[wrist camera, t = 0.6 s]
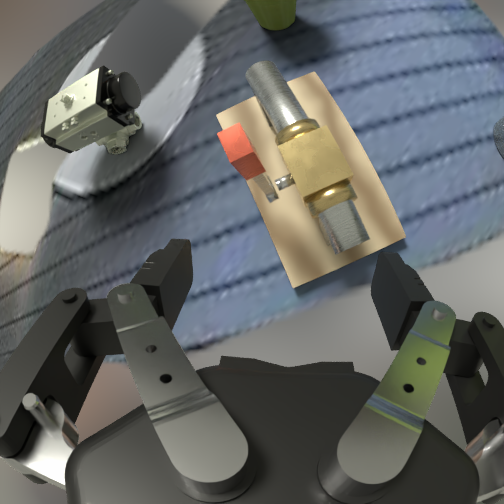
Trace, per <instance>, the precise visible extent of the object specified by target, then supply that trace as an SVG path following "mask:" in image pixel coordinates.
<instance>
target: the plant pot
mask: <svg viewBox="0 0 504 504" xmlns="http://www.w3.org/2000/svg"><path fill="white" fill-rule="evenodd" d="M244 1H246V3H247V4H248V6H249V8H250V9H251V11H252V12H253V14H254V16H255V17H256V19H257V21H258V22H259V24H260V25H261V26H262V27H264V28H266V29H269V30H282V29H285V28H287V27H289V26H290V25H291V24H292V23H294V21H295V12H296V0H244Z"/></svg>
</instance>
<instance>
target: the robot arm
mask: <svg viewBox="0 0 504 504" xmlns="http://www.w3.org/2000/svg"><path fill="white" fill-rule="evenodd" d="M494 140H495V143H496V146H497V148H498V150H499V152H500V154H501V155H502V156H503V158H504V117H503V118H501V119H500V120H499V121H498V122H497V123H496V124H495V126H494ZM192 281H193V266H192V254H191V243H190V240H188V239H171V240H170V241H169V243H168V244H167V246H166V247H165V248H164V249H159V250H157V251H156V252H154V253H153V254H151V255H150V256H149V258H148V259H147V260H146V263H144V264H143V266H142V268H140V270H139V271H138V272H137V274H136V275H135V276H134V278H133V279H132V281H131V282H130V283H126V284H121V285H118V286H116V287H114V288H113V289H112V290H110V291H109V293H108V295H107V298H104V299H92V300H88V297H87V293H86V291H84V290H83V289H81V288H71V289H67V290H64V291H62V292H61V293H59V294H58V295H57V296H56V297H55V298H54V299H53V301H52V302H51V303H50V304H49V306H48V307H47V308H46V309H45V311H44V312H43V313H42V314H41V316H40V317H39V318H38V320H37V321H36V322H35V324H34V325H33V326H32V327H31V329H30V330H29V332H28V333H27V334H26V336H25V337H24V338H23V340H22V341H21V343H20V344H19V345H18V347H17V348H16V350H15V351H14V352H13V354H12V355H11V357H10V358H9V360H8V361H7V363H6V364H5V366H4V367H3V369H2V370H1V372H0V458H1V459H2V460H4V461H5V462H6V463H7V464H8V465H10V466H11V467H12V468H13V469H15V470H16V471H17V472H19V473H22V474H23V475H25V476H26V477H27V478H28V479H30V480H31V481H33V482H34V483H37V484H44V483H47V482H49V483H51V484H53V485H56V486H58V487H60V488H62V489H65V490H66V493H67V502H68V504H476V503H477V502H480V501H482V502H483V503H486V504H494V503H496V502H498V501H499V500H501V499H503V498H504V328H503V326H502V325H501V323H500V322H499V321H498V320H497V318H495V317H494V316H493V315H491V314H489V313H486V312H478V313H476V314H475V315H474V317H473V319H472V321H471V322H468V321H464V320H459V319H456V314H455V312H454V311H453V310H452V309H451V308H450V307H449V306H448V305H446V304H444V303H442V302H439V301H435V300H434V299H433V297H432V295H431V294H430V292H429V291H428V289H427V288H426V286H425V285H424V283H423V281H422V280H420V277H419V275H418V274H417V272H416V271H415V270H414V269H413V268H411V267H410V266H409V265H406V264H405V263H404V261H403V260H402V258H401V257H400V255H399V254H398V253H393V252H381V253H380V254H379V256H378V260H377V264H376V268H375V272H374V276H373V280H372V285H371V296H372V299H373V302H374V304H375V307H376V309H377V312H378V315H379V317H380V320H381V323H382V326H383V328H384V331H385V334H386V336H387V340H388V342H389V345H390V348H391V350H399V351H398V353H397V355H396V357H395V359H394V360H393V362H392V364H391V365H390V367H389V369H388V371H387V372H386V374H385V375H384V377H383V379H382V380H381V382H380V381H378V380H376V379H375V378H373V377H371V376H368V375H365V374H362V373H359V372H355V371H354V366H353V362H318V363H312V364H307V365H301V366H295V367H284V366H280V365H276V364H272V363H268V362H264V361H261V360H257V359H251V358H240V357H228V356H221V360H220V364H219V365H217V366H211V367H206V368H202V369H199V370H196V371H195V369H194V368H193V366H192V364H191V363H190V361H189V360H188V358H187V356H186V355H185V353H184V351H183V350H182V348H181V346H180V345H179V343H178V341H177V339H176V338H175V336H174V334H173V333H172V329H173V327H174V325H175V322H176V320H177V318H178V315H179V313H180V311H181V308H182V306H183V304H184V302H185V299H186V297H187V295H188V292H189V290H190V288H191V285H192ZM69 343H70V344H71V347H70V349H69V351H68V352H67V354H66V356H65V357H64V354H65V350H66V348H67V346H68V344H69ZM116 354H124V355H125V358H126V360H127V363H128V366H129V369H130V371H131V374H132V376H133V379H134V381H135V384H136V386H137V389H138V391H139V394H140V396H141V398H142V401H143V404H142V405H140V406H139V407H137V408H136V409H134V410H132V411H131V412H129V413H128V414H126V415H125V416H123V417H121V418H120V419H118V420H116V421H115V422H113V423H112V424H110V425H109V426H107V427H105V428H103V429H102V430H100V431H98V432H97V433H95V434H94V435H92V436H90V437H88V438H87V439H85V440H84V441H82V442H81V443H80V444H78V440H79V432H78V429H77V427H76V425H75V422H76V420H77V417H78V415H79V413H80V410H81V408H82V406H83V403H84V401H85V399H86V397H87V394H88V392H89V390H90V388H91V385H92V383H93V381H94V379H95V377H96V375H97V373H98V370H99V368H100V366H101V364H102V362H103V360H104V358H105V356H106V355H116ZM483 362H484V364H485V366H486V369H487V371H488V382H487V384H486V386H485V385H484V382H483V380H482V378H481V375H480V373H479V371H478V370H479V369H480V367H481V365H482V364H483ZM442 373H445V374H446V377H447V380H448V383H449V386H450V388H451V391H452V394H453V397H454V401H455V404H456V407H457V410H458V414H459V417H460V420H461V424H462V427H463V431H464V435H465V439H466V442H467V446H466V449H465V451H463V450H462V449H461V448H459V446H457V445H456V444H455V443H454V442H452V441H451V440H450V439H449V438H447V437H446V436H445V435H444V434H443V433H442V432H440V431H439V430H438V429H437V428H435V427H434V426H433V425H432V424H431V423H429V422H428V421H427V420H426V419H425V417H426V415H427V412H428V410H429V407H430V405H431V403H432V400H433V398H434V395H435V393H436V390H437V387H438V385H439V382H440V379H441V376H442Z"/></svg>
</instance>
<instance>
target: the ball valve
mask: <svg viewBox="0 0 504 504" xmlns="http://www.w3.org/2000/svg"><path fill="white" fill-rule="evenodd" d="M140 102H141V95H140V90H139V87H138V84H137V82H136V80H135V79H134V78H133V77H132V75H131V74H129V73H128V72H122V73H119V74H118V75H115V74H114V72H113V70H109V69H108V68H106V67H105V66H102V67H100V68H98V69H97V70H95V71H93V72H91V73H90V74H88V75H86V76H85V77H83V78H81V79H80V80H78V81H76V82H75V83H73V84H72V85H70V86H69V87H67V88H66V89H64V90H63V91H61V92H60V93H58V94H57V95H55V96H54V97H52V98H51V99H49V100H48V101H47V102H46V103H45V109H44V115H43V122H42V125H41V137H43V139H44V141H45V142H46V143H47V144H48V145H49V146H50V147H53V148H58V149H61V150H63V151H65V152H68V153H72V152H74V151H78V150H80V149H82V148H84V147H85V146H87V145H89V144H92V143H94V142H96V143H97V145H99V146H101V145H105V146H106V147H107V149H108V153H110V154H121V153H123V152H125V151H126V146H127V145H128V144H129V136H131V135H134V134H135V133H136V131H137V130H138V129H141V126H142V123H141V119H140V116H139V115H138V114H137V112H134V109H136V108H138V107H139V105H140Z"/></svg>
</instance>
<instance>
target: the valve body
mask: <svg viewBox="0 0 504 504" xmlns="http://www.w3.org/2000/svg"><path fill="white" fill-rule="evenodd" d="M246 79H247V80H248V82H249V84H250V86H251V88H252V90H253V93H254V95H255V97H256V99H257V102H258V104H259V106H260V109H261V111H262V113H263V115H264V117H265V119H266V121H267V123H268V124H269V126H270V127H271V126H273V127H274V129H275V131H276V132H277V135H276V137H275V143H276V145H277V147H278V149H279V151H280V154H281V157H282V159H283V162H284V164H285V166H286V168H287V170H288V172H289V174H287V175H285V176H283V177H281V178H278V179H276V180H274V181H275V183H276V185H277V187H278V189H279V191H281V190H283V189H285V188H287V187H290V186H292V185H295V187H296V189H297V191H298V193H299V195H300V197H301V199H302V202H303V204H304V206H305V208H306V207H307V208H308V210H309V212H310V214H311V217H312V219H316V218H319V228H320V230H321V232H322V235H323V237H324V239H325V241H326V244H327V246H329V245H331V246H332V248H333V251H334V253H335V255H336V254H338V253H341V252H343V251H345V250H347V249H350V248H352V247H354V246H356V245H358V244H361V243H363V242H365V241H367V240H369V239H370V237H369V235H368V233H367V231H366V228H365V226H364V224H363V222H362V219H361V217H360V215H359V213H358V211H357V209H356V207H355V204H354V201H355V200H356V199H357V198H358V197H357V195H356V193H355V191H354V189H353V187H352V185H351V180H352V178H353V175H354V174H353V172H352V171H351V169H350V167H349V165H348V163H347V161H346V159H345V157H344V155H343V154H342V152H341V150H340V148H339V146H338V145H337V143H336V141H335V139H334V137H333V136H332V134H331V132H330V130H329V129H328V127H327V125H325V126H323V127H320V125H319V124H318V122H317V121H316V120H315V119H311V118H308V116H307V114H306V113H305V111H304V109H303V108H302V106H301V104H300V103H299V101H298V100H297V98H296V96H295V95H294V93H293V91H292V90H291V88H290V87H289V85H288V84H287V82H286V81H285V79H284V77H283V76H282V74H281V73H280V71H279V70H278V68H277V67H276V65H275V64H274V63H273V62H271V61H261V62H258V63H256V64H254V65H253V66H251V67H250V68H249V69H248V71H247V72H246Z"/></svg>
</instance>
